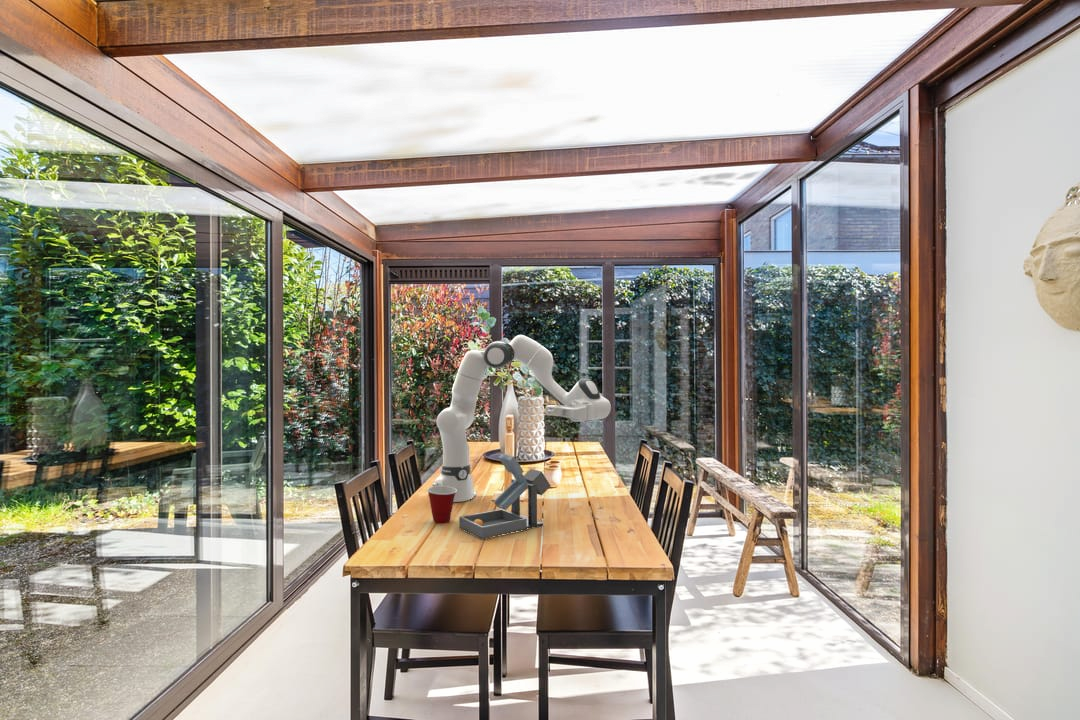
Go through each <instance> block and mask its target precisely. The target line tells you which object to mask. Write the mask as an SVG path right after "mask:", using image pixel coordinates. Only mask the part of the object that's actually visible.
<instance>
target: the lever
mask: <svg viewBox="0 0 1080 720" xmlns="http://www.w3.org/2000/svg"><path fill="white" fill-rule="evenodd" d="M498 459H499V460H500V462H501V463H502V466H503V467H504V468H505V469H506V471H507V472H508V473H511V474H512V476H513V477H514V479H516V480H515V481H514V482H513V483H512V484H509V486H507V487H506V488H505V490H503V491H502V492H501V494H499V496H498V497H496V498H495V499H494V501H492V502H493V503H494V504H495V506H496V507H498V508H499V509H504V510H506V511H507V510H508V508H509V507H511V504H512V503H513V502H514V501H515V500H516V499H517V498H518V497H519V496H520V497H521V496H522V494H523V493H524V492H525V491H526V490H528V485H529V484H536V485H537V495H540V496H543V495H544V494H545V493H546V492H547V491H548V490H549V489H550V487H551V486H552V485H551V484H550V482H549V481H548V479H547V477H546V476H545V474H544V473H543V471H541V470H538V469H534V468H530V469H528V470H527V471H526V472H525V470H524V469H523V467H521V465H520V464H519V462H518V460H517V458H516V457H515V456H514V455H510V454H506V453H501V454H500V455H499V456H498ZM524 472H525V474H523V473H524Z"/></svg>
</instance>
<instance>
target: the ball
mask: <svg viewBox="0 0 1080 720" xmlns="http://www.w3.org/2000/svg"><path fill="white" fill-rule="evenodd" d="M474 523H477V524H479V525H481V526H483V522H482V520H480V519H476V520H475V521H474Z"/></svg>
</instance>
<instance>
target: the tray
mask: <svg viewBox="0 0 1080 720" xmlns="http://www.w3.org/2000/svg"><path fill="white" fill-rule="evenodd" d="M476 519H480V520H482V522H483V526H481V525H479V524H477V523H474V521H475V520H476ZM458 521H459V524H458V525H459V529H460V528H461V529H460V530H462V529H463V530H462V531H464V530H465V531H464V532H466V531H467V533H468V532H469V533H468V534H470V533H471V534H470V535H472V534H473V535H472V536H474V535H475V536H474V537H476V536H477V537H476V538H478V537H479V538H478V539H480V540H482V539H483V540H487V539H486V538H488V539H491V538H490V537H493V536H497V537H499V536H498V535H502V534H507V533H511V532H516V531H521V530H526V531H527V530H528V529H527V519H526V518H524V517H521V516H519V515H516V514H514V513H511V511H509V510H507V509H506V510H504V509H502V508H499V509H495V510H490V511H489V510H488V511H484V512H477V513H473V514H467V515H466V514H465V515H461V516H459V520H458ZM521 532H522V531H521ZM507 535H508V534H507ZM502 536H503V535H502ZM493 538H494V537H493Z"/></svg>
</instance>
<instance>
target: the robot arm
mask: <svg viewBox="0 0 1080 720" xmlns="http://www.w3.org/2000/svg"><path fill="white" fill-rule="evenodd" d="M512 361H517V362H519V363H521V364H522V365H523V366H524V367H526V368H528V370H530V371H531V373H532V374H533V376H534V380H535V381H536V383H537V384H538V385H539V386H540V387H541V388H542V389H543V390H544V391H545V392H546V393H547V394H549V395H550V396H551V397H552V398H553V400H555V401H556V402H557V403H558V404H554V405H553V404H552V405H550V404H549V405H546V406H545V407H544V409H545V410H544V411H545V415H549V416H555V417H562V418H568V419H570V421H572V422H575V423H577V422H586V421H597V420H599V421H600V420H602V419H606V418H607V417H608V416H609V415H610V413H611V411H612V406H611V402H610V400H609V399H607V398H606V397H604V396H603V395H602V393H600V391H599V388H598V385H597V383H595V381H593V380H592V379H589V378H580V379H579V380H578V381H577V382H576V383H575V385H574V386H573V387H572V389H570V391H569V392H567V391H566V390H565V389H564V388H563V387H562V386H560V384H558V383H557V382H556V381H555V380H554V378H553V372H552V371H553V367H554V366H553V365H554V357H553V355H552V353H551V351H549V350H548V349H547V348H546V347H544V345H541V343H539V342H537V341H536V340H534V339H533V338H530V337H528V336H526V335H523V334H518V335H516V336H514V338H513V339H512V340H510V342H508V343H507V342H506V341H503V340H496V341H492V342H491V343H489V344H488V345H487V346H486V347H485V348H484V350H483V351H482V350H477V349H472V350H468V351H467V352H465V355H464V357H463V358H462V361H461V362H460V365H459V367H458V370H457V373H456V377H455V379H454V382H453V384H452V388H451V392H452V395H451V402H450V406H449V407H446V408H444V409H443V410H442V411H440V413H439V414H438V415H437V418H436V426H437V429H438V430H439V435H440V439H441V444H442V445H441V446H442V465H441V466H440V474H439V476H437V478H436V479H434V482H433V483H432V484H431V487H434V486H447V487H453V488H455V489H457V492H456V493H455V496H454V501H453V503H458V502H467V501H470V499H471V500H472V498H473V499H474V497H476V496H477V492H475V487H474V478H473V476H472V475H471V469H472V467H471V463H470V444H469V443H468V439H467V433H466V430H467V429H468V428H470V427H471V425H472V424H473V422H474V420H475V412H476V408H477V407H476V406H477V400H478V395H479V393H480V389H481V387H482V383H483V380H484V378H485V375H486V373H487V370H488V369H489V368H492V369H501V368H503V367H506V366H507V365H508V364H509V363H511V362H512ZM427 493H428V492H427ZM428 494H429V493H428ZM428 494H427V495H428Z"/></svg>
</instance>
